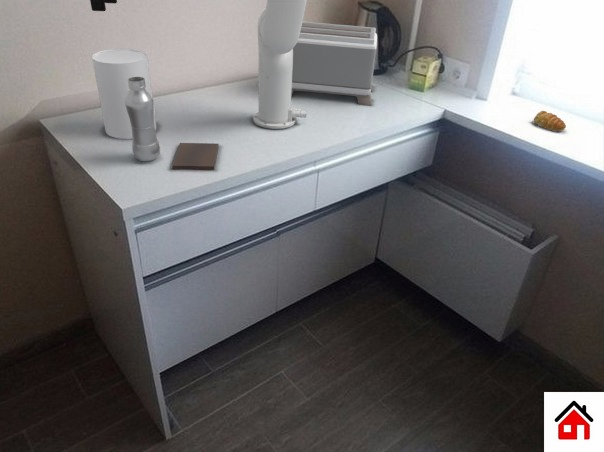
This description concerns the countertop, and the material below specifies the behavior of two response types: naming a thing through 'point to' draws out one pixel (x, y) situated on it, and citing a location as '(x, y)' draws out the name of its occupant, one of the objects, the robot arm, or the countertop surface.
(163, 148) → the countertop surface
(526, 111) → the countertop surface
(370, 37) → the toaster
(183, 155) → the walnut board
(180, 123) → the countertop surface
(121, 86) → the canister
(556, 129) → the pastry
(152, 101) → the silver bottle
